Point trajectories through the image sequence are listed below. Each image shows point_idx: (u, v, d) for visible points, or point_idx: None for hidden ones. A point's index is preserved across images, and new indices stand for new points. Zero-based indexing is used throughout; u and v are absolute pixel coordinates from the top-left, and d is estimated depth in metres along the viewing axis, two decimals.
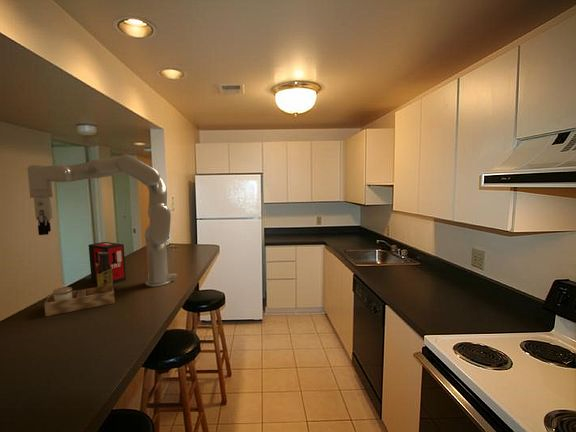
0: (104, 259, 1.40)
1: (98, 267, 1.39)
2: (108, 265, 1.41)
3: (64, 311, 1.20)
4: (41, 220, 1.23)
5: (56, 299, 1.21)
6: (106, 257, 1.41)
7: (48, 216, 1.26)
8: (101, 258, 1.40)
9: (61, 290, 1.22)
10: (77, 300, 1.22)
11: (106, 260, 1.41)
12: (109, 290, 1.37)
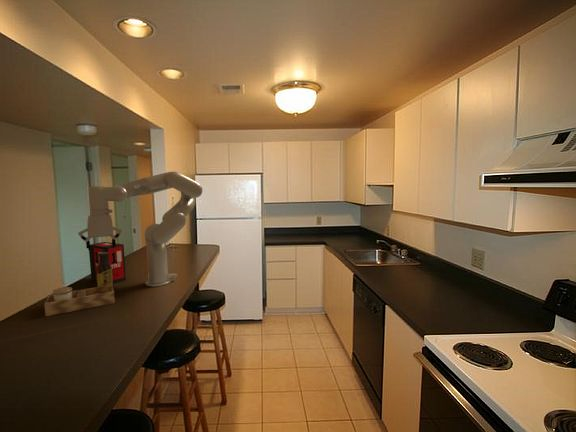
0: (104, 259, 1.40)
1: (98, 267, 1.39)
2: (108, 265, 1.41)
3: (64, 311, 1.20)
4: (119, 233, 1.44)
5: (56, 299, 1.21)
6: (106, 257, 1.41)
7: None
8: (101, 258, 1.40)
9: (61, 290, 1.22)
10: (77, 300, 1.22)
11: (106, 260, 1.41)
12: (109, 290, 1.37)
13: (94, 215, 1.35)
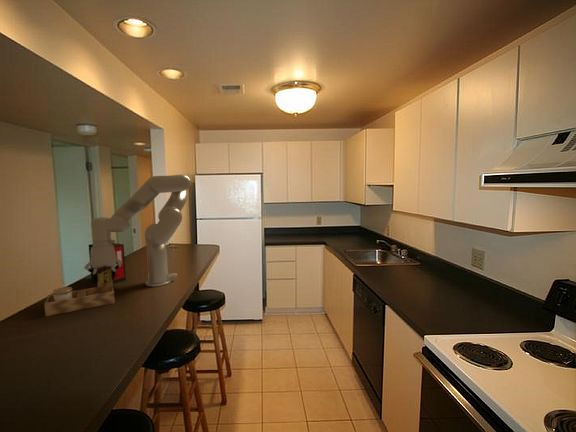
0: None
1: None
2: None
3: (64, 311, 1.20)
4: None
5: (56, 299, 1.21)
6: None
7: None
8: None
9: (61, 290, 1.22)
10: (77, 300, 1.22)
11: None
12: (109, 290, 1.37)
13: (97, 247, 1.36)
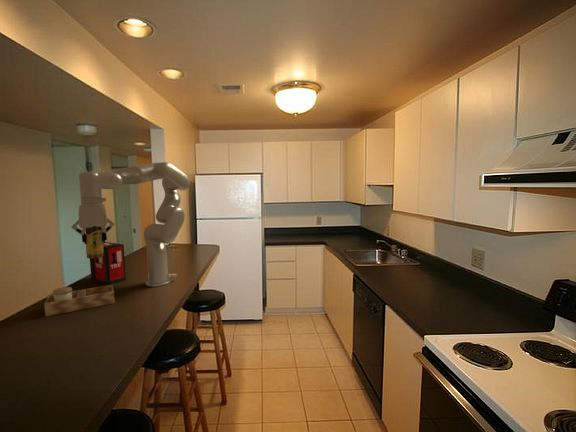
0: None
1: None
2: None
3: (64, 311, 1.20)
4: None
5: (56, 299, 1.21)
6: None
7: None
8: None
9: (61, 290, 1.22)
10: (77, 300, 1.22)
11: None
12: (109, 290, 1.37)
13: (86, 204, 1.22)
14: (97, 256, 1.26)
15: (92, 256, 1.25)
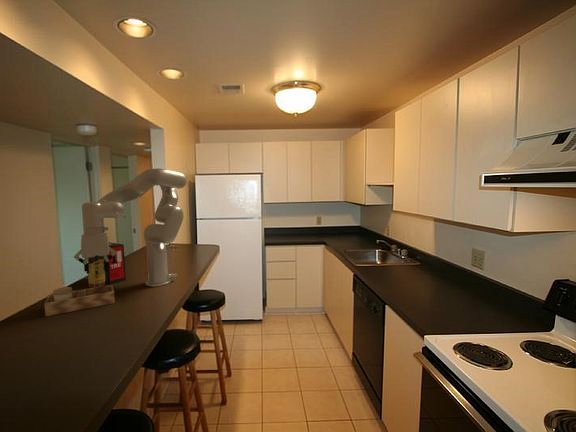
0: None
1: None
2: None
3: (64, 311, 1.20)
4: None
5: (56, 299, 1.21)
6: None
7: None
8: None
9: (61, 290, 1.22)
10: (77, 300, 1.22)
11: None
12: (109, 290, 1.37)
13: (88, 234, 1.24)
14: (99, 285, 1.28)
15: (94, 285, 1.27)
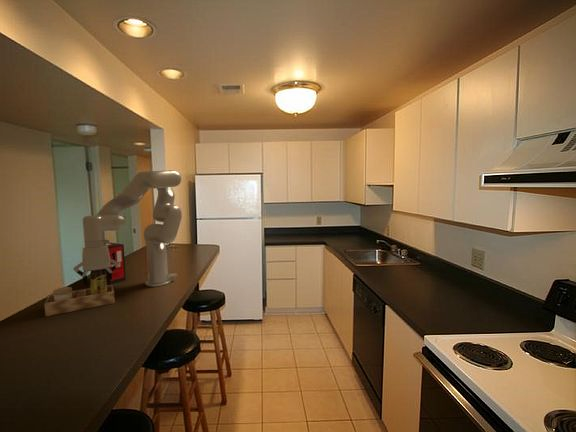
0: None
1: (91, 272, 1.28)
2: (102, 270, 1.30)
3: (64, 311, 1.20)
4: None
5: (56, 299, 1.21)
6: None
7: None
8: None
9: (61, 290, 1.22)
10: (77, 300, 1.22)
11: None
12: (109, 290, 1.37)
13: (89, 247, 1.24)
14: None
15: None
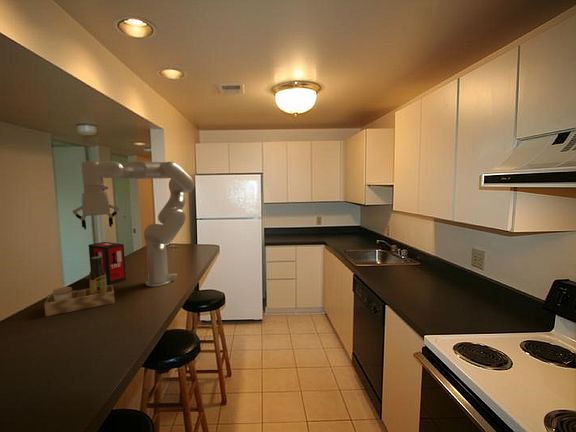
0: (97, 265, 1.28)
1: (91, 273, 1.27)
2: (102, 270, 1.29)
3: (64, 311, 1.20)
4: (116, 212, 1.36)
5: (56, 299, 1.21)
6: (99, 262, 1.29)
7: None
8: (94, 263, 1.28)
9: (61, 290, 1.22)
10: (77, 300, 1.22)
11: (99, 265, 1.29)
12: (109, 290, 1.37)
13: (89, 192, 1.27)
14: None
15: None
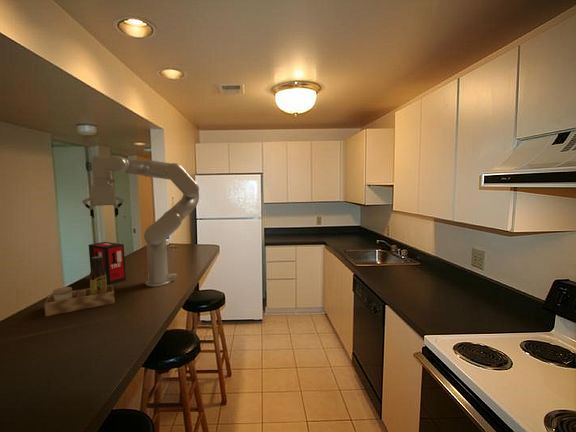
0: (97, 264, 1.28)
1: (91, 273, 1.28)
2: (102, 270, 1.29)
3: (64, 311, 1.20)
4: None
5: (56, 299, 1.21)
6: (100, 262, 1.29)
7: None
8: (94, 263, 1.28)
9: (61, 290, 1.22)
10: (77, 300, 1.22)
11: (100, 265, 1.29)
12: (109, 290, 1.37)
13: (97, 184, 1.40)
14: None
15: None
